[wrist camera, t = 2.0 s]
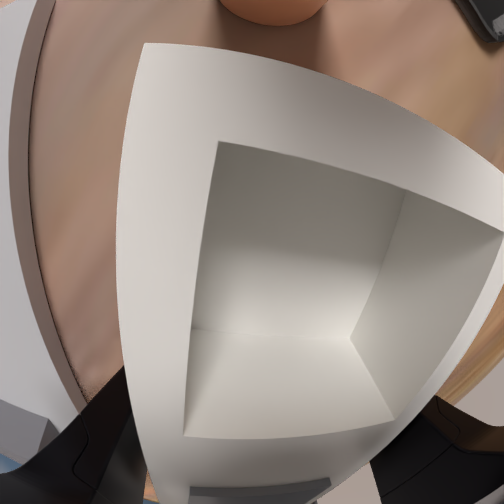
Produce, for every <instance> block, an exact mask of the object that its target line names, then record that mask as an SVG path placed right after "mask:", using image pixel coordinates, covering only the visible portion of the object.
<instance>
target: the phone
mask: <svg viewBox="0 0 504 504" xmlns="http://www.w3.org/2000/svg"><path fill="white" fill-rule="evenodd" d="M455 1H456V3H457V4H458V6H459V7H460V9H461V10H462V12H463V13H464V15H465V16H466V18H467V20H468V21H469V23H470V25H471V26H472V28H473V29H474V31H475V32H476V33H477V34H478V35H479V37H480V38H482V39H483V40H484V41H485V42H488V43H494V42H503V41H504V0H455Z"/></svg>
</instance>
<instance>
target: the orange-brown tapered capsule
mask: <svg viewBox="0 0 504 504" xmlns="http://www.w3.org/2000/svg"><path fill="white" fill-rule="evenodd" d="M220 1H221V3H222V4H223V5H224V6H225V7H226V8H227V9H228V10H229V11H231V12H232V13H234V14H235V15H237V16H239V17H241V18H243V19H245V20H248V21H251V22H254V23H258V24H262V25H270V26H286V25H293V24H296V23H300V22H302V21H305V20H307V19H308V18H310V17H311V16H313V15H314V14H315V13H316V12H317V11H318V10H319V9H320V8H321V7H322V6H323V5H324V4H325V3H326V2H327V1H328V0H220Z"/></svg>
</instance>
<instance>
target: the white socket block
mask: <svg viewBox="0 0 504 504" xmlns="http://www.w3.org/2000/svg"><path fill="white" fill-rule="evenodd" d="M116 279H117V300H118V314H119V326H120V336H121V344H122V352H123V360H124V367H125V373H126V379H127V385H128V391H129V396H130V401H131V406H132V411H133V416H134V420H135V424H136V429H137V433H138V437H139V441H140V444H141V448H142V452H143V455H144V459H145V462H146V465H147V469H148V472H149V475H150V478H151V481H152V484H153V487H154V490H155V492H156V495H157V498H158V501H159V503H160V504H311V503H313V502H314V501H316V500H317V499H319V498H320V497H322V496H323V495H325V494H326V493H328V492H329V491H331V490H332V489H334V488H335V487H336V486H338V485H339V484H341V483H342V482H343V481H345V480H346V479H347V478H349V477H350V476H351V475H352V474H354V473H355V472H356V471H358V470H359V469H360V468H361V467H363V466H364V465H365V464H366V463H368V462H369V461H370V460H371V459H372V458H373V457H375V456H376V455H377V454H378V453H379V452H380V451H381V450H382V449H383V448H385V447H386V446H387V445H388V444H389V443H390V442H391V441H392V440H393V439H394V438H395V437H396V436H397V435H398V434H399V433H400V432H401V431H402V430H403V429H404V428H405V427H406V426H407V425H408V424H409V423H410V422H411V421H412V420H413V419H414V418H415V416H416V415H417V414H418V413H419V412H420V411H421V410H422V409H423V408H424V406H425V405H426V404H427V403H428V402H429V401H430V399H431V398H432V397H433V396H434V395H435V393H436V392H437V391H438V390H439V388H440V387H441V386H442V384H443V383H444V382H445V381H446V379H447V378H448V377H449V375H450V374H451V373H452V371H453V370H454V368H455V367H456V366H457V364H458V363H459V361H460V360H461V358H462V357H463V355H464V354H465V352H466V351H467V349H468V348H469V346H470V345H471V343H472V341H473V340H474V338H475V337H476V335H477V333H478V332H479V330H480V328H481V326H482V325H483V323H484V321H485V319H486V318H487V316H488V314H489V312H490V310H491V308H492V306H493V304H494V302H495V300H496V298H497V296H498V294H499V292H500V290H501V288H502V286H503V283H504V174H503V173H502V172H501V171H499V170H498V169H497V168H496V167H494V166H493V165H492V164H491V163H489V162H488V161H487V160H486V159H484V158H483V157H482V156H480V155H479V154H478V153H476V152H475V151H473V150H472V149H471V148H469V147H468V146H466V145H465V144H463V143H462V142H461V141H459V140H458V139H456V138H455V137H453V136H451V135H450V134H448V133H447V132H445V131H444V130H442V129H440V128H439V127H437V126H435V125H434V124H432V123H430V122H429V121H427V120H425V119H423V118H422V117H420V116H418V115H416V114H414V113H413V112H411V111H409V110H407V109H405V108H403V107H401V106H399V105H397V104H395V103H393V102H391V101H389V100H387V99H385V98H382V97H380V96H378V95H376V94H374V93H371V92H369V91H367V90H364V89H362V88H360V87H357V86H355V85H352V84H350V83H347V82H345V81H342V80H339V79H336V78H334V77H331V76H328V75H325V74H322V73H319V72H316V71H313V70H310V69H307V68H303V67H300V66H296V65H293V64H289V63H286V62H282V61H278V60H274V59H270V58H265V57H261V56H256V55H252V54H247V53H241V52H236V51H230V50H224V49H217V48H209V47H201V46H192V45H180V44H164V43H144V46H143V50H142V53H141V57H140V61H139V65H138V69H137V73H136V77H135V81H134V86H133V90H132V95H131V100H130V105H129V111H128V116H127V122H126V128H125V135H124V141H123V149H122V157H121V166H120V176H119V187H118V201H117V222H116Z"/></svg>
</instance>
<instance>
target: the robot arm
mask: <svg viewBox="0 0 504 504" xmlns="http://www.w3.org/2000/svg"><path fill="white" fill-rule="evenodd" d="M369 462H370V465H371V468H372V472H373V475H374V478H375V481H376V485H377V488H378V492H379V495H380V499H381V503H382V504H504V426H500V427H499V426H491V425H488V424H486V423H484V422H482V421H479V420H478V419H476V418H474V417H472V416H470V415H468V414H467V413H465V412H463V411H461V410H459V409H457V408H456V407H454V406H452V405H451V404H449V403H448V402H446V401H444V400H443V399H441V398H440V397H438V396H437V395H436V396H435V395H434V396H433V397H432V398H431V399H430V401H429V402H428V403H427V404H426V405H425V406H424V408H423V409H422V410H421V411H420V412H419V413H418V414H417V415H416V416H415V418H414V419H413V420H412V421H411V422H410V423H409V424H408V425H407V426H406V427H405V428H404V429H403V430H402V431H401V432H400V433H399V434H398V435H397V436H396V437H395V438H394V439H393V440H392V441H391V442H390V443H389V444H388V445H387V446H386V447H385V448H383V449H382V450H381V451H380V452H379V453H378V454H377V455H376V456H375V457H373V458H372V459H371V460H370V461H369ZM146 474H147V465H146V462H145V459H144V455H143V452H142V448H141V444H140V441H139V437H138V433H137V429H136V424H135V420H134V416H133V411H132V406H131V401H130V396H129V391H128V385H127V379H126V373H125V367H124V366H123V367H122V368H121V369H120V370H119V371H118V372H117V373H116V374H115V375H114V376H113V377H112V378H111V379H110V381H109V382H108V383H107V384H106V385H105V386H104V387H103V388H102V389H101V390H100V391H99V392H98V393H97V395H96V396H95V397H94V398H93V399H92V400H91V401H90V402H89V403H88V404H87V405H86V406H85V408H84V409H83V410H82V411H81V412H80V414H78V415H77V416H76V417H75V418H74V419H73V421H72V422H71V423H70V424H69V425H68V426H67V427H66V428H65V429H64V430H63V431H62V432H61V433H60V434H59V435H58V436H56V437H55V438H54V439H53V440H52V441H51V442H50V443H49V444H47V445H46V446H45V447H44V448H43V449H41V450H40V451H39V452H38V453H37V454H35V455H34V456H33V457H32V458H31V459H29V460H28V461H27V462H26V463H25V464H23V465H22V466H21V467H19V468H17V469H15V470H13V471H10V472H7V473H2V474H0V504H143V496H144V488H145V481H146ZM311 504H317V500H316V501H314V502H313V503H311Z"/></svg>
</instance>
